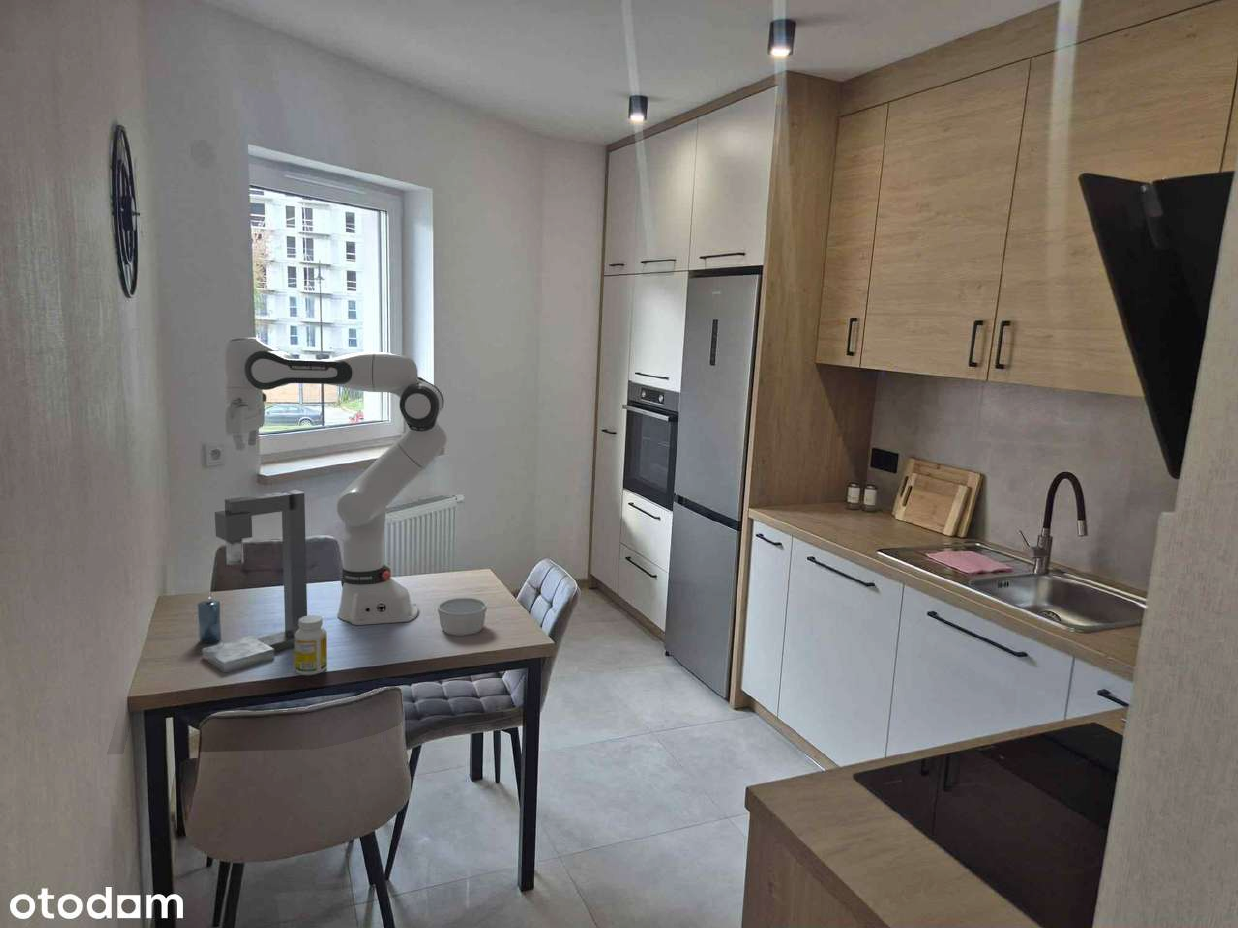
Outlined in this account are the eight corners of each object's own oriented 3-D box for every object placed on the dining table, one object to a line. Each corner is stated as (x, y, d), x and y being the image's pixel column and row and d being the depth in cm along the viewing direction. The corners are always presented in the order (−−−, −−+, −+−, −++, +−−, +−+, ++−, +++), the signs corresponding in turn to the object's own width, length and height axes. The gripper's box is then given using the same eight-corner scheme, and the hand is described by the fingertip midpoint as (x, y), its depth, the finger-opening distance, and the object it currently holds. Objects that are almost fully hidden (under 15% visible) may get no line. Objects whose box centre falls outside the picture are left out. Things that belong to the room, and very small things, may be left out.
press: (292, 633, 210) (288, 487, 203) (315, 646, 202) (312, 495, 196) (202, 658, 192) (195, 499, 186) (224, 672, 185) (217, 508, 178)
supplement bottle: (304, 678, 184) (303, 626, 181) (289, 669, 188) (288, 618, 186) (332, 669, 189) (332, 618, 187) (317, 660, 194) (316, 611, 191)
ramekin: (436, 638, 211) (436, 613, 210) (439, 620, 224) (439, 597, 223) (485, 637, 213) (486, 613, 212) (486, 620, 226) (486, 597, 225)
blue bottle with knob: (224, 636, 206) (222, 594, 204) (217, 644, 201) (215, 601, 199) (204, 636, 205) (202, 594, 203) (196, 644, 200) (194, 601, 198)
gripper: (243, 401, 203) (245, 453, 205) (268, 394, 223) (270, 442, 225) (217, 400, 202) (220, 453, 204) (245, 394, 222) (247, 442, 224)
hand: (246, 447), depth 215 cm, fingers open, 8 cm apart
